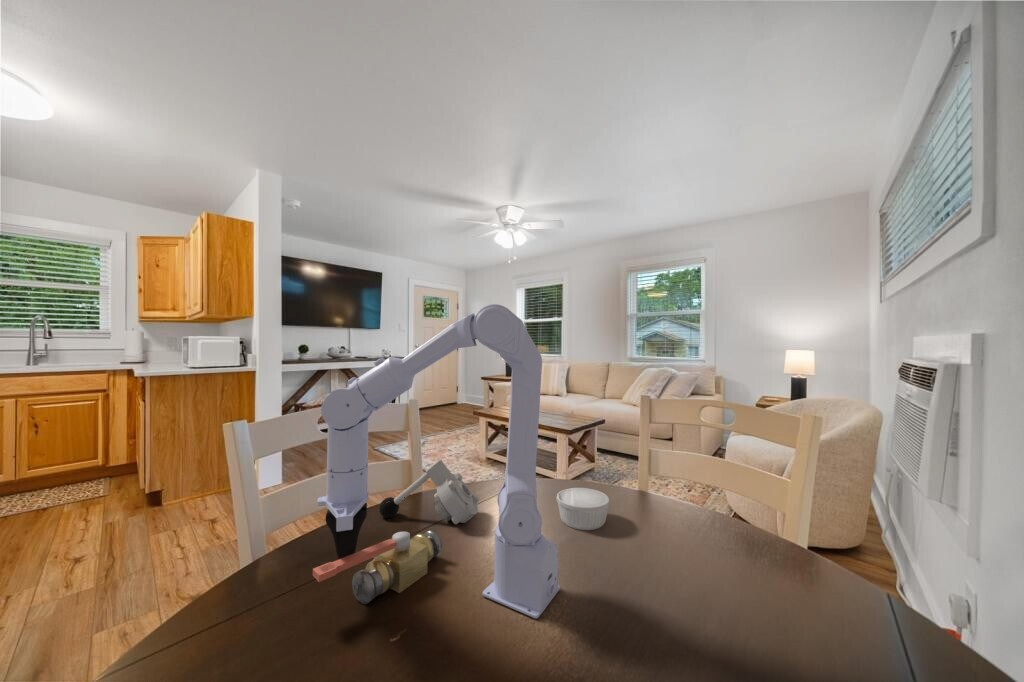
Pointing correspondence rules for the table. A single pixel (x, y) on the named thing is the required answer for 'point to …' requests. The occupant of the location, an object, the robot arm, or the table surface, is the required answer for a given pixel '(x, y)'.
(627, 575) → the table surface
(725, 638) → the table surface
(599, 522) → the ramekin
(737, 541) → the table surface
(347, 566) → the lever
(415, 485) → the mechanical valve
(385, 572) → the valve pipe
